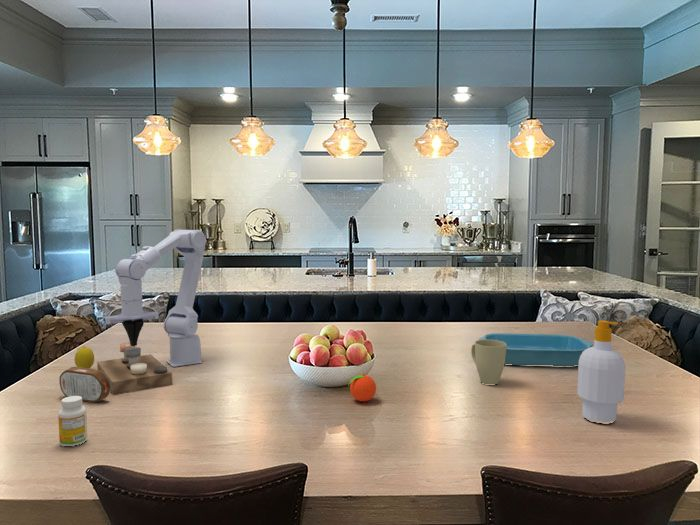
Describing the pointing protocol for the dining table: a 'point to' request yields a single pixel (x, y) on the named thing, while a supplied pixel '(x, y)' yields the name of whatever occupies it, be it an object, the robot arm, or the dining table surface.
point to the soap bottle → (601, 377)
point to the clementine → (362, 388)
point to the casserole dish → (541, 348)
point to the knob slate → (132, 354)
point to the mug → (489, 359)
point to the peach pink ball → (122, 349)
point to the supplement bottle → (72, 422)
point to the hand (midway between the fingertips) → (133, 345)
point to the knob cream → (138, 368)
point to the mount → (127, 382)
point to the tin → (85, 384)
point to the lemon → (84, 357)
